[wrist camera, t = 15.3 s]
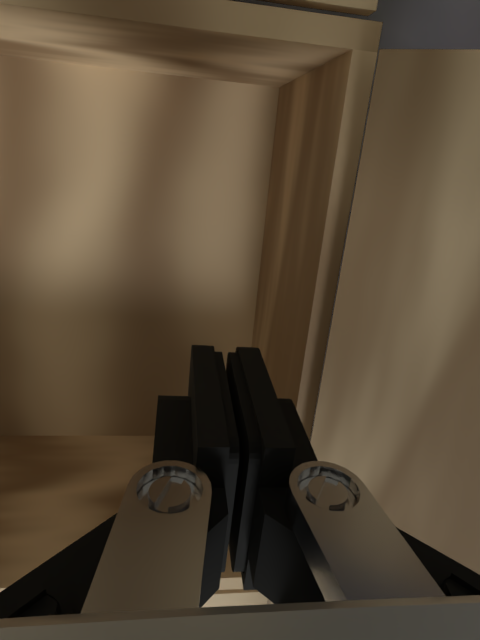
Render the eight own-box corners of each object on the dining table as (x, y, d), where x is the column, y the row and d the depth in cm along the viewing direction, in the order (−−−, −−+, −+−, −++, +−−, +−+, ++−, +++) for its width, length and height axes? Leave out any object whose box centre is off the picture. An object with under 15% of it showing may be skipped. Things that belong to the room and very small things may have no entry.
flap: (384, 55, 10) (698, 58, 8) (289, 582, 16) (453, 663, 14) (379, 49, 10) (713, 50, 7) (283, 595, 16) (453, 681, 14)
